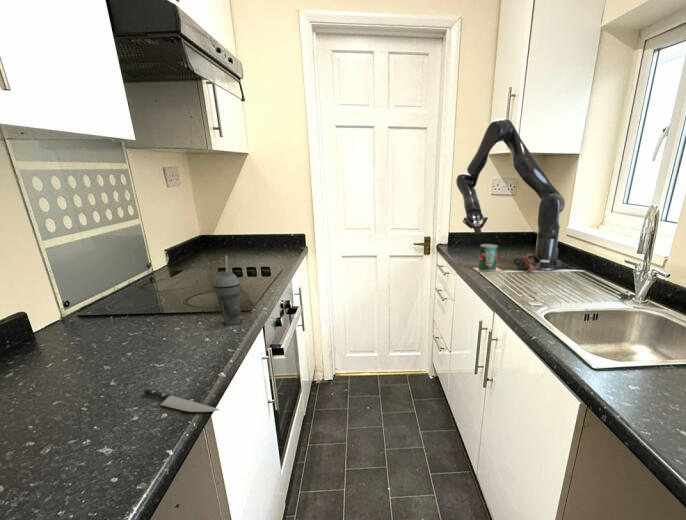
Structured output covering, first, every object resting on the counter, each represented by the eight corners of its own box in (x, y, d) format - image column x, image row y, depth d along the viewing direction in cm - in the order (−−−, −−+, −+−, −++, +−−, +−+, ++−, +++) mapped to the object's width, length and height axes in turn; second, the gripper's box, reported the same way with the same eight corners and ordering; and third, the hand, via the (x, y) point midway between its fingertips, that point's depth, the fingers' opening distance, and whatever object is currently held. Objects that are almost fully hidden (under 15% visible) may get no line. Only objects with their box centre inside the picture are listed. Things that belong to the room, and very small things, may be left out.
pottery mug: (533, 268, 196) (541, 254, 190) (535, 281, 190) (544, 267, 184) (509, 262, 195) (517, 248, 188) (510, 274, 188) (519, 260, 182)
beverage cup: (220, 319, 126) (208, 254, 118) (245, 317, 128) (235, 252, 120) (219, 327, 119) (207, 258, 112) (245, 324, 122) (235, 257, 114)
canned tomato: (499, 269, 190) (501, 245, 186) (486, 271, 187) (488, 247, 182) (487, 266, 197) (489, 243, 192) (475, 268, 193) (476, 244, 189)
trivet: (496, 267, 197) (496, 266, 197) (503, 271, 188) (503, 270, 188) (472, 267, 195) (472, 267, 195) (478, 272, 187) (478, 271, 187)
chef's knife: (208, 420, 75) (220, 410, 77) (207, 414, 74) (219, 405, 77) (134, 399, 81) (148, 391, 84) (133, 394, 81) (146, 386, 83)
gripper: (461, 201, 203) (467, 229, 196) (486, 200, 205) (493, 229, 198) (457, 211, 210) (463, 239, 203) (482, 211, 212) (489, 238, 205)
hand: (478, 234), depth 201 cm, fingers closed
